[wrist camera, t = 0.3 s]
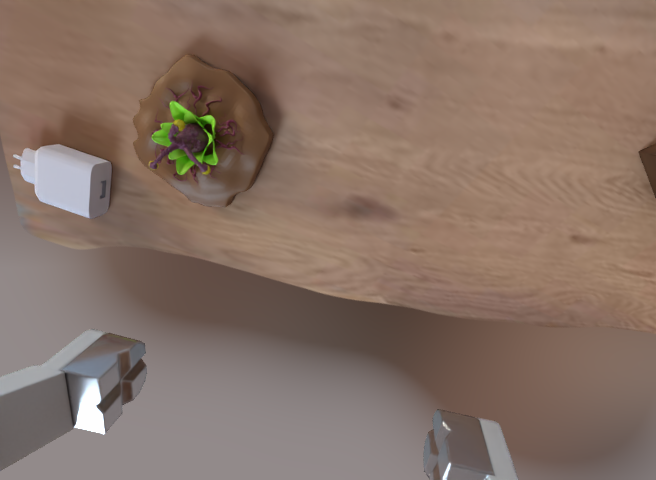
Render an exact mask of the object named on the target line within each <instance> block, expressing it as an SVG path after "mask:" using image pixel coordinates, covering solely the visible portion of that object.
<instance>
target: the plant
mask: <svg viewBox="0 0 656 480" xmlns="http://www.w3.org/2000/svg"><path fill="white" fill-rule="evenodd" d="M139 102H140V110H139V112H138V113H137V114H136V115H135V116H134V118H133V123H134V125H135V128H136V130H137V132H138V139H137V140H135V141H134V142H133V145H134V148H135V151H136V154H137V156H138V158H139V159H140V161H141V162H142V164H143V165H144V166H145V167H146V168H148V169H149V170H150V171H152V172H153V173H155V174H156V175H158V176H159V177H161V178H162V179H164V180H165V181H166V182H167V183H169V184H170V185H171V186H173V187H174V188H176V189H177V190H178V191H180V192H181V193H183V194H184V195H185V196H186V197H187V198H188V199H189V200H190V201H191V202H193V203H199V204H201V205H204V206H208V207H212V206H220V207H227V206H228V205H230V204H231V203H232V200H233V197H234V196H235V195H236V194H237V193H240V192H244V191H247V190H248V189H250V188H251V187H252V185H253V184H254V181H255V179H256V176H257V174H258V172H259V170H260V168H261V165H262V163H263V160H264V158H265V156H266V154H267V152H268V150H269V147H270V145H271V142H272V140H273V133H272V131H271V129H270V127H269V126H268V124H267V122H266V120H265V118H264V116H263V112H262V108H261V105H260V103H259V102H258V100H257V99H256V97H255V96H254V94H253V93H252V92H251V91H250V90H249V89H248V88H247V87H246V86H244V85H243V84H242V83H241V82H240V80H239V79H238V78H237V77H236V76H235V75H233V74H232V73H231V72H229V71H226V70H221V69H215V68H213V67H211V66H209V65H207V64H206V63H204V62H202V61H201V60H200V59H199V58H198V57H196V56H195V55H190V54H187V55H186V56H184V57H183V58H181V59H180V60H178V61H177V62H176V63H175V64H174V65H173V66H172V68H171V69H170V70H169V71H168V72H167V73H166V74H165V75H163V76H162V77H161V78H159V80H158V81H157V82H156V84H155V86H154V88H153V90H152V93H151V95H150V96H149V97H147V98H145V99H141V100H139Z"/></svg>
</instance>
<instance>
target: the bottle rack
mask: <svg viewBox="0 0 656 480" xmlns="http://www.w3.org/2000/svg"><path fill="white" fill-rule="evenodd" d="M639 155H640V157H641V160H642V163H643V165H644V168H645V171H646V173H647V176H648V179H649V182H650V184H651V187H652V190H653V192H654V195H655V198H656V144H654V145H652V146H650V147H648V148H646V149H644V150H641V151H639Z"/></svg>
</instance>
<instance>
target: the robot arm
mask: <svg viewBox="0 0 656 480" xmlns="http://www.w3.org/2000/svg"><path fill="white" fill-rule="evenodd" d="M145 353H146V351H145V343H143V342H142V341H138V340H135V339H131V338H127V337H123V336H119V335H115V334H112V333H106V332H102V331H98V330H95V329H91V330H87V331H85V332H84V333H83V334H81V335H80V336H79V337H78V338H76V339H75V340H74V341H72V342H71V343H70V344H69V345H67V346H66V347H65V348H63V349H62V350H61V351H59V352H58V353H57V354H56V355H54V356H53V357H52V358H51V359H49V360H48V361H47V362H46V363H44V364H43V365H41V366H36V365H34V366H31V367H28V368H25V369H22V370H19V371H16V372H13V373H10V374H7V375H4V376H1V377H0V471H1V470H3V469H5V468H6V467H8V466H10V465H11V464H13V463H15V462H17V461H19V460H20V459H22V458H24V457H26V456H27V455H29V454H30V453H32V452H34V451H36V450H38V449H39V448H41V447H43V446H45V445H46V444H48V443H50V442H52V441H53V440H55V439H57V438H58V437H60V436H62V435H64V434H65V433H67V432H69V431H71V430H72V429H73V427H76V428H81V429H86V430H90V431H94V432H99V433H103V434H105V433H106V432H107V431H108V430H109V428H110V427H111V426H112V425H113V424H114V422H115V421H116V420H117V419H118V418H119V417H120V415H121V414H122V405H124V404H126V403H128V402H130V401H133V400H134V399H135V397H136V396H137V395H138V394H139V392H140V390H141V389H142V386H143V384H144V382H145V379H146V374H147V368H146V364H145V363H144V362H143V360H142V359H141V358H142V357H143V356H144V354H145ZM433 428H434V429H433V430H431V431H429V432H428V434H427V438H426V441H425V447H424V472H425V473H426V475H427V476H428V477H429V480H519V479H518V476H517V474H516V471H515V468H514V465H513V462H512V459H511V456H510V454H509V450H508V447H507V444H506V441H505V439H504V436H503V433H502V430H501V427H500V425H499V424H498V423H497V422H495V421H491V420H486V419H481V418H475V417H471V416H467V415H462V414H457V413H453V412H449V411H444V410H439V409H438V410H437V411H436V412H435V414H434V417H433Z"/></svg>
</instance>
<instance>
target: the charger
mask: <svg viewBox="0 0 656 480" xmlns="http://www.w3.org/2000/svg"><path fill="white" fill-rule="evenodd" d="M13 157H14V158H17V159H20V160H21V166H18V165H14V168H17V169H20V170H21V174H22V176H23V178H24V180H26V181H27V182H30V183H33V184H35V193H36V195H37V197H38V198H39V200H40V201H41V202H44V203H47V204H50V205H53V206H56V207H58V208H61V209H64V210H67V211H70V212H73V213H76V214H79V215H82V216H84V217H87V218H90V219H93V218H95V217H98V216H100V215H103V214H105V213H106V212H107V210H108V207H109V200H110V187H111V174H112V165H111V162H110V161H107V160H104V159H101V158H98V157H95V156H92V155H89V154H86V153H83V152H80V151H78V150H75V149H72V148H69V147H66V146H63V145H60V144H56V145H48V146H42V147H40V148H39V149H38V150H37V151H34V150H32V149H29V148H26V149H25V150H24V152H23V154H22V157H21V156H18V155H15V154H14V155H13Z"/></svg>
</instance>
